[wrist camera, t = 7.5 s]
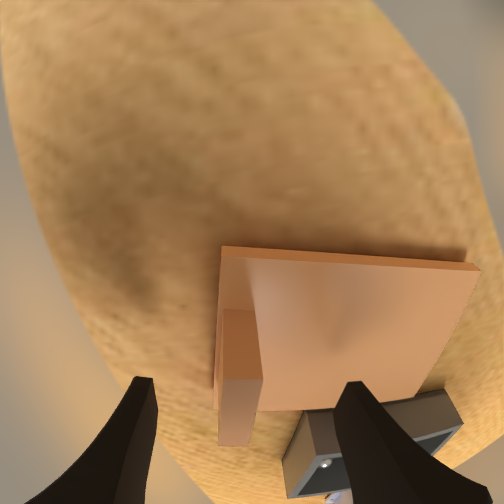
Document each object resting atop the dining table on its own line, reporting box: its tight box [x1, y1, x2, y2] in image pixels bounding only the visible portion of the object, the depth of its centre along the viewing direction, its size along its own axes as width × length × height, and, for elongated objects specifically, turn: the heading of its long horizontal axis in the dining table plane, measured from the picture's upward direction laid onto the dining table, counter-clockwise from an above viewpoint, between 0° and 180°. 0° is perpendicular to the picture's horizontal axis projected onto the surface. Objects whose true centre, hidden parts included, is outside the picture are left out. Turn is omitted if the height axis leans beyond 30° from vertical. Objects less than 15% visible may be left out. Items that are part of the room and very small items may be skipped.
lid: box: [213, 246, 482, 447], centre depth 13 cm, size 9×12×5 cm
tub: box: [282, 389, 464, 499], centre depth 18 cm, size 8×11×4 cm
